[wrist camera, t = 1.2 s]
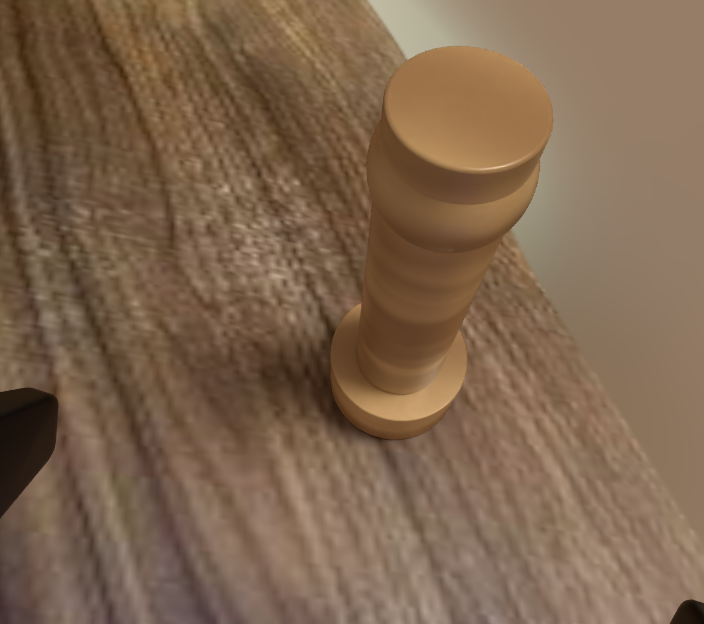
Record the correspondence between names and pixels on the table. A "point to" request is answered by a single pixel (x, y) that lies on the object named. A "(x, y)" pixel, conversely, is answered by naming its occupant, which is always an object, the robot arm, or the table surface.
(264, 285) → the table surface
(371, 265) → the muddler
